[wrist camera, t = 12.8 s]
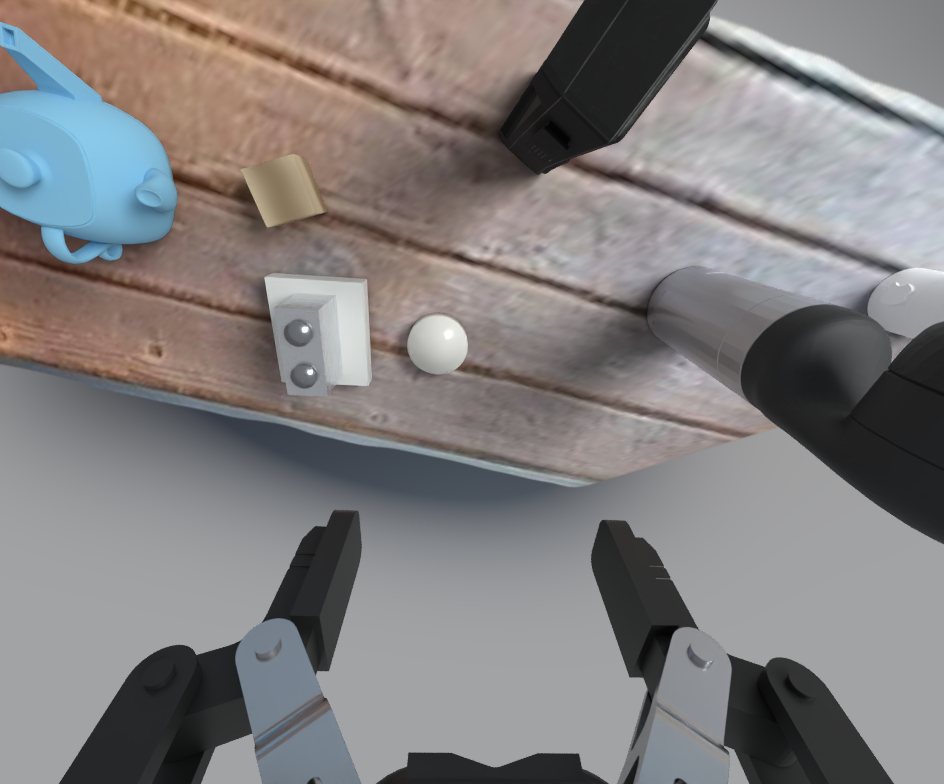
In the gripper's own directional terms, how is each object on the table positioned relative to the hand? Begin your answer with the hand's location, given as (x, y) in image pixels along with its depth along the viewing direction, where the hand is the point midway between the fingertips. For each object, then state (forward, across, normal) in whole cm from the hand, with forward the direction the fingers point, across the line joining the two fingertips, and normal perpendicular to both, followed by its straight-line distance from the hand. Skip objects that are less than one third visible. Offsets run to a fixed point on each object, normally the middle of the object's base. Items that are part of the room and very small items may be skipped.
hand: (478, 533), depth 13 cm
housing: (+32, +16, +5) cm, 36 cm away
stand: (+35, +16, +5) cm, 39 cm away
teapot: (+35, +34, -10) cm, 50 cm away
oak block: (+35, +18, -9) cm, 41 cm away
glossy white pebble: (+36, +3, +6) cm, 36 cm away
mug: (+37, -54, -2) cm, 65 cm away
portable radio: (+36, -6, -16) cm, 40 cm away
